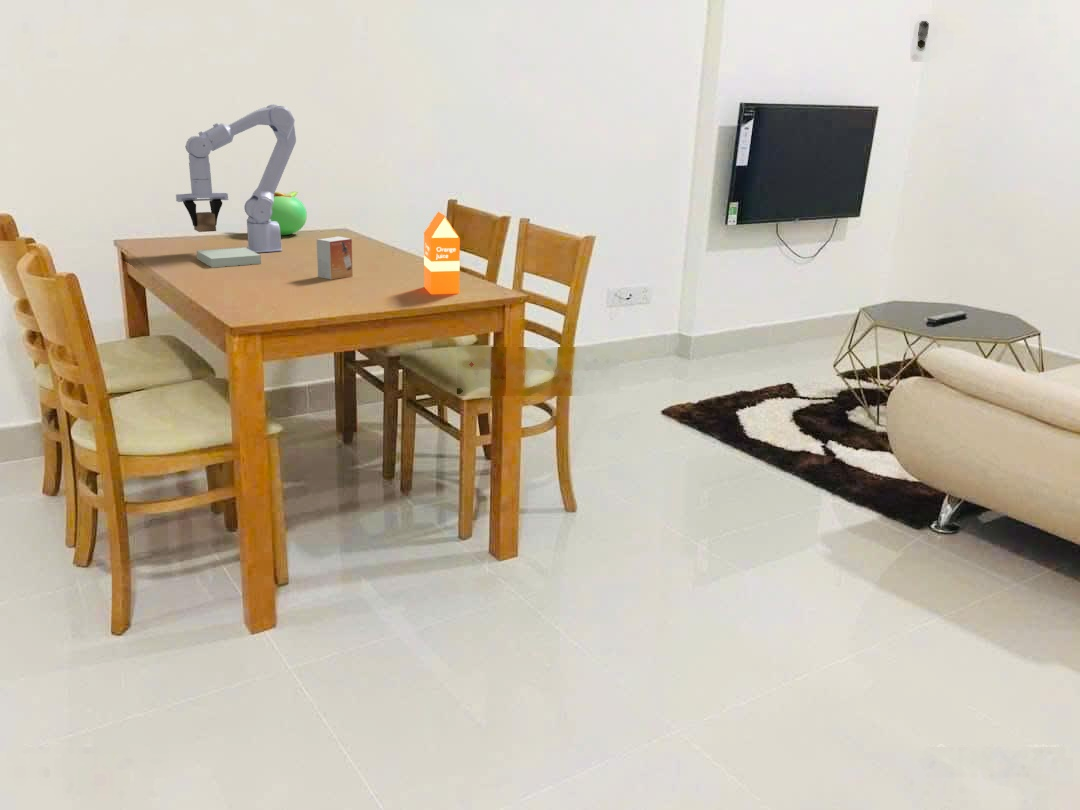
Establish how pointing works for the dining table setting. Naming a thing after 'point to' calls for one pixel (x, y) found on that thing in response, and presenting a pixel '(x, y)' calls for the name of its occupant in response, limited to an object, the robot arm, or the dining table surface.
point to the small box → (334, 257)
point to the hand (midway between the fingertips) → (204, 225)
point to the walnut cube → (205, 222)
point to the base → (228, 257)
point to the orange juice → (441, 257)
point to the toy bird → (288, 212)
